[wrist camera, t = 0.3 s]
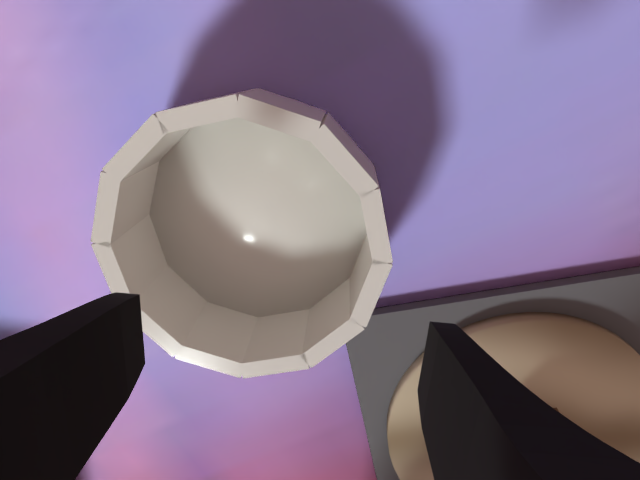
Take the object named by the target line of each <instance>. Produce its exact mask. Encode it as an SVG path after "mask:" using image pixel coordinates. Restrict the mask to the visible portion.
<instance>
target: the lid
mask: <svg viewBox="0 0 640 480" xmlns="http://www.w3.org/2000/svg"><path fill="white" fill-rule="evenodd" d="M461 329H462V330H463V331H464V332H465V333H466V334H467V335H468V336H469V337H471V338H472V339H473V340H474V341H475V342H476V343H477V344H478V345H479V346H480V347H481V348H482V349H483V350H484V351H485V352H487V353H488V354H489V355H490V356H491V357H492V358H493V359H494V360H495V361H496V362H497V363H499V364H500V365H501V366H502V367H503V368H504V369H505V370H506V371H508V372H509V373H510V374H511V375H512V376H513V377H515V378H516V379H517V380H518V381H519V382H520V383H522V384H523V385H524V386H525V387H527V388H528V389H529V390H530V391H532V392H533V393H534V394H535V395H537V396H538V397H539V398H540V399H542V400H543V401H544V402H545V403H547V404H548V405H550V406H551V407H552V408H554V409H555V410H556V411H558V412H559V413H561V414H562V415H564V416H565V417H566V418H568V419H569V420H571V421H572V422H574V423H575V424H577V425H578V426H580V427H581V428H582V429H584V430H585V431H587V432H589V433H590V434H592V435H593V436H595V437H596V438H598V439H600V440H601V441H603V442H605V443H606V444H608V445H610V446H611V447H613V448H615V449H616V450H618V451H620V452H622V453H623V454H625V455H627V456H628V457H630V458H632V459H633V460H635V461H637V462H639V463H640V355H639V354H638V353H637V352H636V351H635V350H634V349H633V348H632V347H631V346H630V345H629V344H628V343H627V342H625V341H624V340H623V339H621V338H620V337H619V336H618V335H616V334H615V333H613V332H611V331H609V330H608V329H606V328H604V327H602V326H600V325H598V324H595V323H593V322H590V321H588V320H585V319H581V318H577V317H574V316H570V315H565V314H557V313H549V312H522V313H512V314H505V315H500V316H495V317H491V318H487V319H484V320H481V321H478V322H475V323H472V324H469V325H467V326H465V327H462V328H461ZM423 356H424V352H423V353H422V354H421V355H420V356H419V357H418V358H417V359H416V360H415V361H414V362H413V363H412V364H411V365H410V367H409V368H408V369H407V371H406V372H405V373H404V374H403V376H402V377H401V379H400V381H399V383H398V385H397V386H396V388H395V390H394V393H393V395H392V398H391V401H390V404H389V409H388V414H387V438H388V447H389V454H390V458H391V461H392V464H393V467H394V469H395V471H396V473H397V475H398V477H399V479H400V480H434V477H433V473H432V469H431V465H430V460H429V456H428V452H427V448H426V444H425V440H424V436H423V431H422V427H421V419H420V411H419V401H418V391H417V389H418V384H419V378H420V373H421V367H422V362H423Z"/></svg>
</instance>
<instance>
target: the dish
mask: <svg viewBox="0 0 640 480" xmlns="http://www.w3.org/2000/svg"><path fill="white" fill-rule="evenodd" d="M325 113H326V111H325V110H322V109H319V108H316V107H313V106H310V105H308V104H305V103H303V102H300V101H298V100H296V99H292V98H289V97H285V96H281V95H278V94H275V93H272V92H269V91H266V90H263V89H260V88H258V89H257V88H255V89H250V90H246V91H241V92H237V93H233V94H228V95H224V96H220V97H215V98H211V99H206V100H202V101H198V102H193V103H189V104H185V105H182V106H178V107H174V108H170V109H166V110H163V111H159V112H156V113H155V114H152V115H151V116H150V118H149V119H148V120H147V121H146V122H145V123H144V124H143V125H142V126H141V127H140V128H139V129H138V131H137V132H136V133H135V134H134V135H133V136H132V137H131V138H130V139H129V140H128V141H127V142H126V143H125V145H124V146H123V147H122V148H121V149H120V150H119V151H118V152H117V153H116V154H115V155H114V156H113V158H112V159H111V160H110V161H109V162H108V163H107V164H106V165H105V166H104V167H103V168H102V169H103V171H101V173H100V180H99V187H98V194H97V201H96V208H95V215H94V222H93V229H92V236H91V242H93V244H91V246H92V248H93V250H94V253H95V255H96V258H97V260H98V262H99V265H100V267H101V270H102V272H103V274H104V277H105V279H106V281H107V284H108V286H109V289H110V291H111V293H115V292H118V293H129V294H140V305H141V318H142V331H143V332H144V333H145V334H146V335H147V336H149V337H150V338H151V339H152V340H153V341H154V342H155V343H157V344H158V345H159V346H160V347H161V348H162V349H164V350H165V351H166V352H167V353H168V354H169V355H170V356H172V357H173V356H175V355H176V356H175V359H178V360H181V361H185V362H188V363H191V364H195V365H198V366H201V367H205V368H208V369H211V370H215V371H218V372H221V373H225V374H228V375H232V376H235V377H238V378H241V375H242V376H243V378H250V377H256V376H263V375H270V374H277V373H284V372H291V371H298V370H305V369H309V366H310V367H311V368H312V367H314V366H315V365H316V364H318V363H319V362H320V361H322V360H323V359H325V358H326V357H327V356H329V355H330V354H332V353H333V352H334V351H336V350H337V349H338V348H340V347H341V346H343V345H344V344H345V343H347V342H348V341H349V340H351V339H352V338H354V337H355V336H356V335H358V334H359V333H360V332H362V331H363V330H365V328H364V327H367V325H368V322H369V320H370V317H371V315H372V313H373V310H374V308H375V306H376V303H377V301H378V298H379V296H380V294H381V291H382V289H383V286H384V284H385V282H386V279H387V277H388V275H389V272H390V270H391V267H392V262H393V261H392V255H391V249H390V243H389V238H388V232H387V226H386V220H385V215H384V209H383V203H382V198H381V192H380V187H379V183H378V179H377V175H376V171H375V167H374V165H373V163H372V162H371V161H370V160H369V159H368V157H367V156H366V155H365V154H364V153H363V152H362V150H361V149H360V148H359V147H358V146H357V145H356V143H355V142H354V141H353V139H352V138H351V137H350V136H349V135H348V134H347V133H346V132H345V131H344V130H343V129H342V127H341V126H340V125H339V124H338V123H337V122H336V120H335V119H334V118H333V117H332V116H331V115H330V114H329V112H328V113H327V114H325Z"/></svg>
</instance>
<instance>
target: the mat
mask: <svg viewBox="0 0 640 480" xmlns="http://www.w3.org/2000/svg"><path fill="white" fill-rule="evenodd" d="M522 312H549V313H557V314H565V315H570V316H574V317H577V318H581V319H585V320H588V321H590V322H593V323H595V324H598V325H600V326H602V327H604V328H606V329H608V330H609V331H611V332H613V333H615V334H616V335H618V336H619V337H620V338H621V339H623V340H624V341H625V342H627V343H628V344H629V345H630V346H631V347H632V348H633V349H634V350H635V351H636V352H637V353H638V354H639V355H640V266H639V267H633V268H627V269H620V270H614V271H608V272H602V273H595V274H589V275H583V276H576V277H570V278H564V279H557V280H551V281H545V282H538V283H532V284H526V285H520V286H513V287H507V288H501V289H494V290H488V291H482V292H475V293H469V294H463V295H457V296H450V297H444V298H438V299H431V300H425V301H419V302H412V303H406V304H400V305H394V306H387V307H381V308H375V309H374V310H373V313H372V315H371V317H370V320H369V322H368V325H367V327H364V328H365V330H363V331H362V332H360V333H359V334H358V335H356V336H355V337H354V338H352V339H351V340H349V341H348V342H347V343H346V346H347V350H348V354H349V359H350V363H351V368H352V372H353V376H354V381H355V385H356V389H357V394H358V398H359V403H360V407H361V411H362V416H363V420H364V424H365V429H366V433H367V438H368V442H369V446H370V451H371V455H372V459H373V464H374V468H375V473H376V477H377V480H400V479H399V477H398V475H397V473H396V471H395V469H394V467H393V464H392V461H391V458H390V454H389V447H388V438H387V414H388V409H389V404H390V401H391V398H392V395H393V393H394V390H395V388H396V386H397V385H398V383H399V381H400V379H401V377H402V376H403V374H404V373H405V372H406V371H407V369H408V368H409V367H410V365H411V364H412V363H413V362H414V361H415V360H416V359H417V358H418V357H419V356H420V355H421V354H422V353H423V352H424V351H425V345H426V339H427V334H428V328H429V323H430V321H431V322H442V323H453V324H456V325H457V326H458V327H460V328H462V327H465V326H467V325H469V324H472V323H475V322H478V321H481V320H484V319H487V318H491V317H495V316H500V315H505V314H512V313H522Z"/></svg>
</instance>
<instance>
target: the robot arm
mask: <svg viewBox="0 0 640 480" xmlns="http://www.w3.org/2000/svg"><path fill="white" fill-rule="evenodd" d="M144 365H145V356H144V344H143V331H142V318H141V305H140V294H129V293H118V292H115V293H112V294H109V295H106V296H103V297H101V298H98V299H96V300H93V301H91V302H89V303H86V304H84V305H82V306H79V307H77V308H75V309H73V310H70V311H68V312H66V313H64V314H61V315H59V316H57V317H55V318H52V319H50V320H48V321H46V322H43V323H41V324H39V325H36V326H34V327H31V328H29V329H27V330H24V331H22V332H19V333H17V334H14V335H12V336H9V337H7V338H4V339H2V340H0V480H75V479H76V477H77V475H78V474H79V472H80V471H81V469H82V468H83V466H84V465H85V464H86V462H87V461H88V459H89V458H90V456H91V455H92V453H93V452H94V450H95V449H96V447H97V446H98V444H99V443H100V441H101V440H102V438H103V437H104V435H105V434H106V432H107V431H108V429H109V428H110V426H111V425H112V423H113V421H114V420H115V418H116V417H117V415H118V414H119V412H120V411H121V409H122V408H123V406H124V405H125V403H126V401H127V400H128V398H129V396H130V394H131V392H132V390H133V388H134V386H135V384H136V382H137V380H138V378H139V376H140V373H141V371H142V369H143V367H144ZM417 391H418V401H419V411H420V419H421V427H422V431H423V436H424V440H425V444H426V448H427V452H428V456H429V460H430V465H431V469H432V473H433V477H434V480H640V463H639V462H637V461H635V460H633V459H632V458H630V457H628V456H627V455H625V454H623V453H622V452H620V451H618V450H616V449H615V448H613V447H611V446H610V445H608V444H606V443H605V442H603V441H601V440H600V439H598V438H596V437H595V436H593V435H592V434H590V433H589V432H587V431H585V430H584V429H582V428H581V427H580V426H578V425H577V424H575V423H574V422H572V421H571V420H569V419H568V418H566V417H565V416H564V415H562V414H561V413H559V412H558V411H556V410H555V409H554V408H552V407H551V406H550V405H548V404H547V403H545V402H544V401H543V400H542V399H540V398H539V397H538V396H537V395H535V394H534V393H533V392H532V391H530V390H529V389H528V388H527V387H525V386H524V385H523V384H522V383H520V382H519V381H518V380H517V379H516V378H515V377H513V376H512V375H511V374H510V373H509V372H508V371H506V370H505V369H504V368H503V367H502V366H501V365H500V364H499V363H497V362H496V361H495V360H494V359H493V358H492V357H491V356H490V355H489V354H488V353H487V352H485V351H484V350H483V349H482V348H481V347H480V346H479V345H478V344H477V343H476V342H475V341H474V340H473V339H472V338H471V337H469V336H468V335H467V334H466V333H465V332H464V331H463V330H462V329H461V328H460V327H458V326H457V325H456V324H453V323H442V322H431V321H430V323H429V328H428V334H427V339H426V345H425V351H424V356H423V362H422V367H421V373H420V378H419V384H418V389H417Z"/></svg>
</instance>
